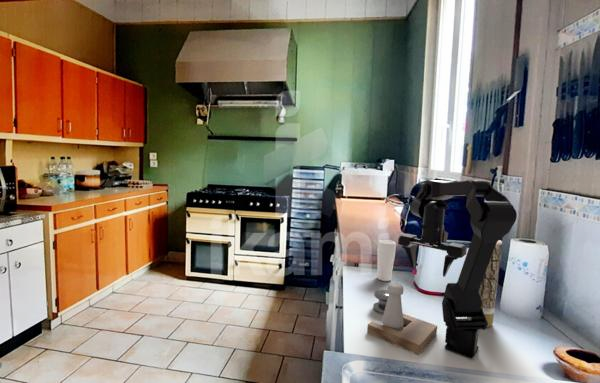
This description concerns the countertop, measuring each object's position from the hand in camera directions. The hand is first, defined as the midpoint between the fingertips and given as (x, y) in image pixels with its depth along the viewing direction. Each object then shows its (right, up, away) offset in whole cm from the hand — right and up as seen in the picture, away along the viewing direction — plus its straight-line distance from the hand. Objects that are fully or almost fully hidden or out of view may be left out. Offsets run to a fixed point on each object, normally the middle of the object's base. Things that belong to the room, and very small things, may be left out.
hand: (428, 272), depth 102 cm
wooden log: (+14, -14, -3) cm, 20 cm away
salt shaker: (-14, -14, -10) cm, 22 cm away
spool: (-13, -12, +3) cm, 18 cm away
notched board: (-12, -14, -11) cm, 21 cm away
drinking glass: (-6, -10, +28) cm, 31 cm away
